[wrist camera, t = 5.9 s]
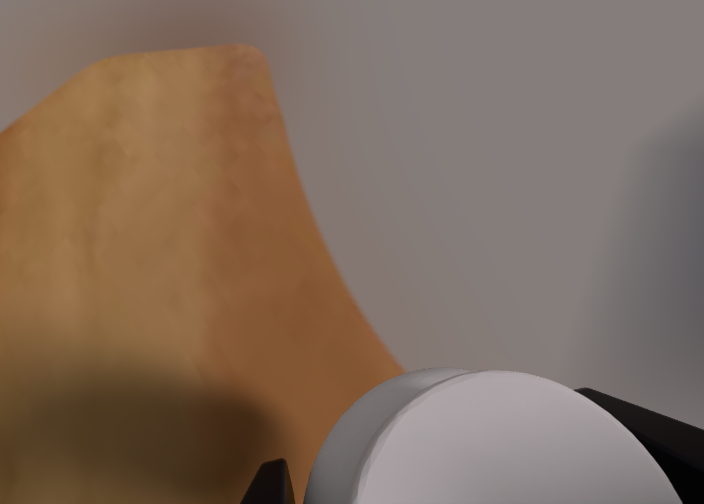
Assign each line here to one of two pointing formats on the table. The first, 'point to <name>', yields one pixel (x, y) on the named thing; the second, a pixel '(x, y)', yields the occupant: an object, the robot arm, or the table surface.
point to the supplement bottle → (482, 446)
